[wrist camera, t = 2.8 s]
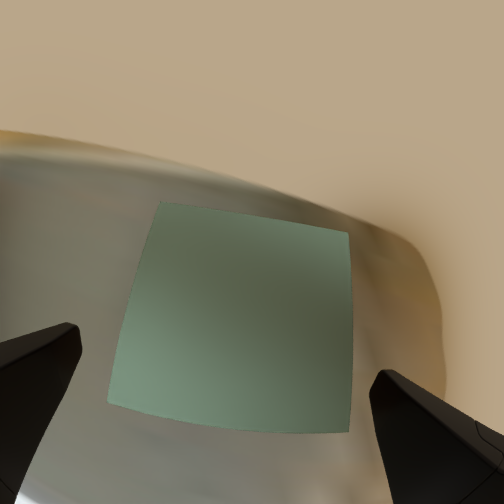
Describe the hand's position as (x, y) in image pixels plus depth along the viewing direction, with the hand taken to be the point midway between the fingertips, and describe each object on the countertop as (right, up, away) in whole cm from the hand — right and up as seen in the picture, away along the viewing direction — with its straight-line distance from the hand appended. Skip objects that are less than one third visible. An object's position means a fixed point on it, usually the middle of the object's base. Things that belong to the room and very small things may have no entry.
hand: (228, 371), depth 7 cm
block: (-1, -4, +8) cm, 9 cm away
